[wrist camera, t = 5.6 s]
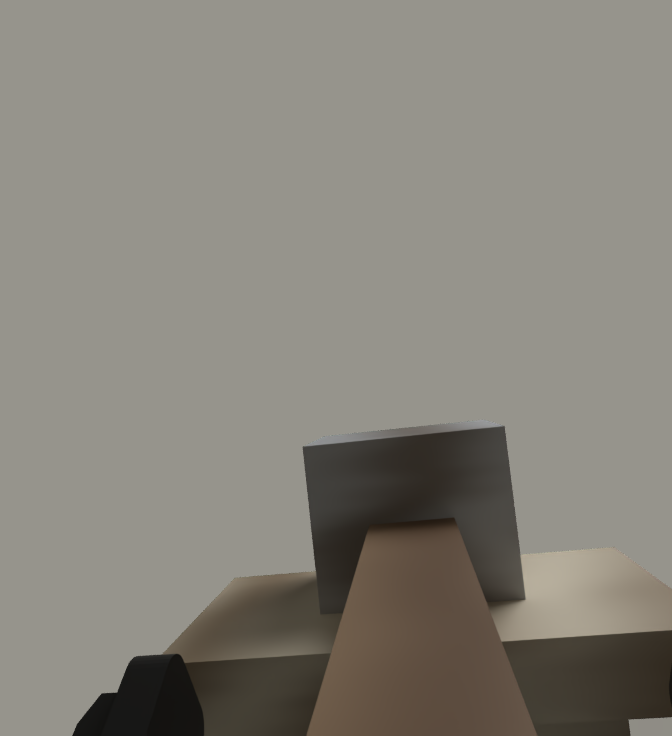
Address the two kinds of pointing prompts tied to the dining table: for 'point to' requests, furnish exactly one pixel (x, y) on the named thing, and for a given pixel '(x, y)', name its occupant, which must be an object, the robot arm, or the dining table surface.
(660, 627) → the birch plinth
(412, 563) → the mallet
